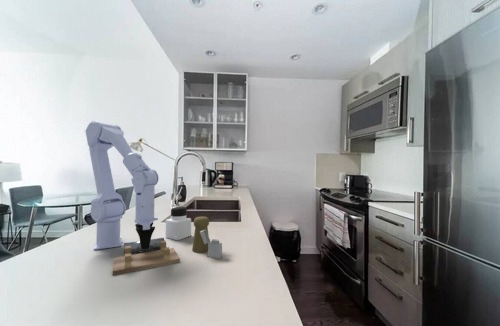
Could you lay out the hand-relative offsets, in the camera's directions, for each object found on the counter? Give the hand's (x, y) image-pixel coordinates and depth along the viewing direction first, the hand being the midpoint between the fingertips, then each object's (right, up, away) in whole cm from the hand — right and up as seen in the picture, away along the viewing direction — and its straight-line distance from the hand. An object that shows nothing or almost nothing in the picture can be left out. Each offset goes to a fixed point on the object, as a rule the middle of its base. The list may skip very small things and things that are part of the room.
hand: (144, 246), depth 75 cm
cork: (+19, -2, +1) cm, 19 cm away
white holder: (+23, -2, -5) cm, 23 cm away
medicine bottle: (+7, -2, +15) cm, 16 cm away
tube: (0, -2, 0) cm, 2 cm away
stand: (+5, -1, -9) cm, 10 cm away
